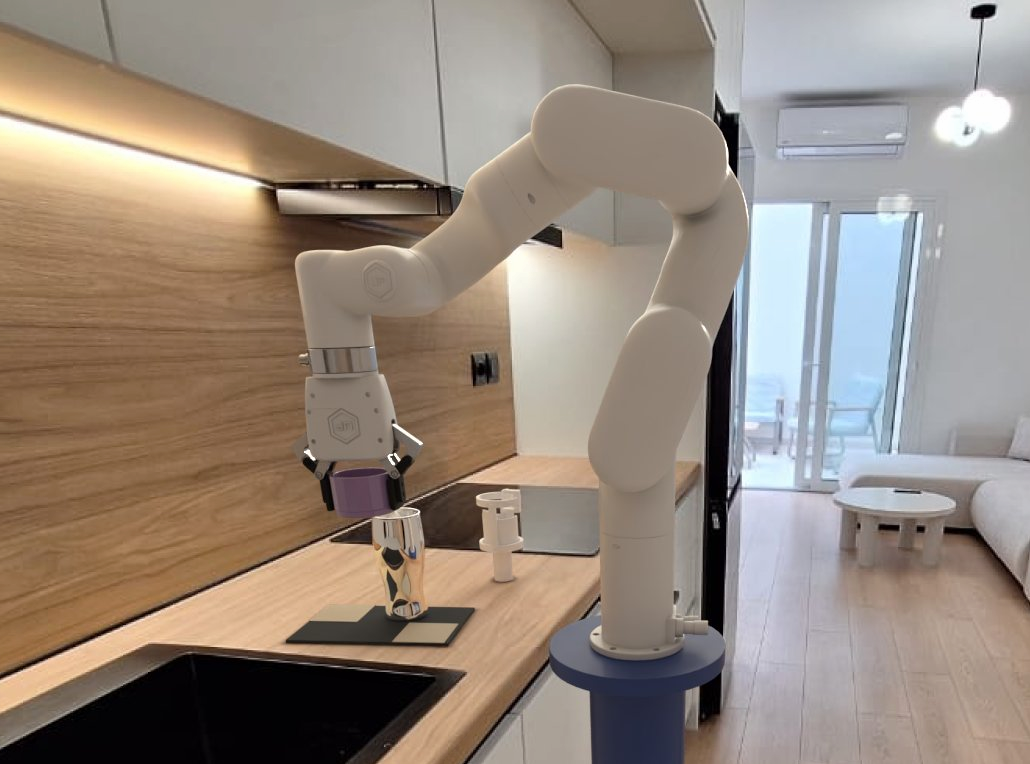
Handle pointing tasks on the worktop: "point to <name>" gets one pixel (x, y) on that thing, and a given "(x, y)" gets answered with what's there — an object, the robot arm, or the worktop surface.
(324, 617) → the place mat
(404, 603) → the beer glass
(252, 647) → the worktop surface
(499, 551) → the white tall plastic stand
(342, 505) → the dish
